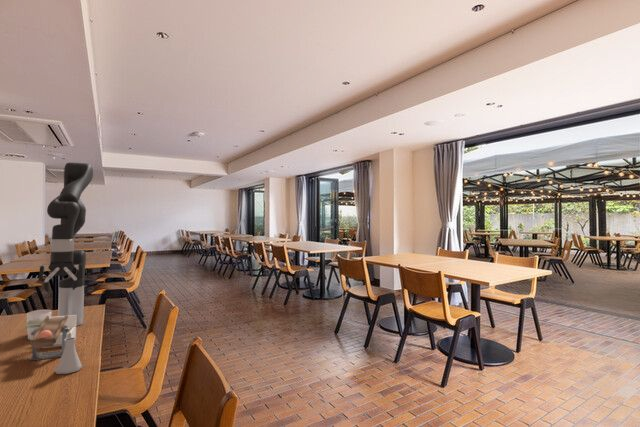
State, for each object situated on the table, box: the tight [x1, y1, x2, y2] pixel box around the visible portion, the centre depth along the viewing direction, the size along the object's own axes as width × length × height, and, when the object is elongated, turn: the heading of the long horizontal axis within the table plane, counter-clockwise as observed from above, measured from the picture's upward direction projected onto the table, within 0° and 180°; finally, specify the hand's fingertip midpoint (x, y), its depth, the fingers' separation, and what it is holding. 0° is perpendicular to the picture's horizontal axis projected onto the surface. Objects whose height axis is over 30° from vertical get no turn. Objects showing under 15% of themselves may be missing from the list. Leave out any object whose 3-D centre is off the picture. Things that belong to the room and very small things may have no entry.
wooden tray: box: [25, 314, 68, 349], centre depth 121 cm, size 18×12×3 cm, turn 25°
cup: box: [41, 315, 77, 349], centre depth 135 cm, size 10×9×9 cm
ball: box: [39, 330, 52, 338], centre depth 116 cm, size 4×4×4 cm
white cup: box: [26, 309, 53, 340], centre depth 140 cm, size 8×8×10 cm
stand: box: [28, 326, 69, 362], centre depth 122 cm, size 5×11×10 cm, turn 115°
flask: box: [54, 337, 83, 375], centre depth 112 cm, size 7×7×10 cm
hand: (60, 290), depth 141 cm, fingers open, 8 cm apart
